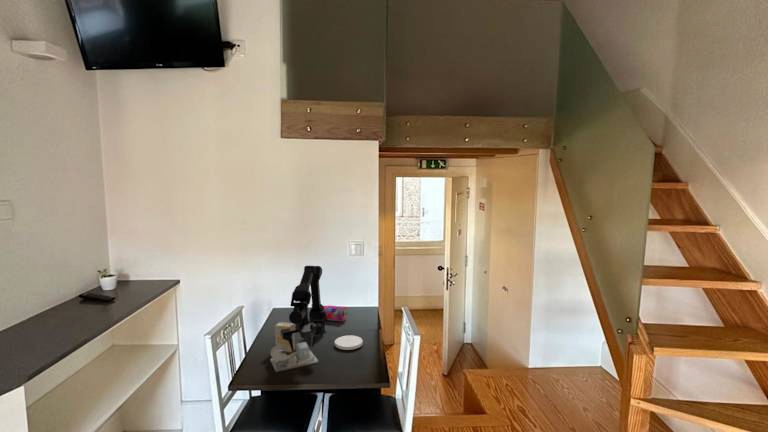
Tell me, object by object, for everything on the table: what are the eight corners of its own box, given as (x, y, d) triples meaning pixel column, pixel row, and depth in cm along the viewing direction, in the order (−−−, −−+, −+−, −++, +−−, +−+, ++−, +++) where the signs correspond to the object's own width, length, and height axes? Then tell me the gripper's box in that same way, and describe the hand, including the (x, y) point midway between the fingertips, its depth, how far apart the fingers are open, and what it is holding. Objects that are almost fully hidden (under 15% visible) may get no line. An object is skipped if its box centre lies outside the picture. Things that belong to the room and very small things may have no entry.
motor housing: (310, 352, 185) (310, 338, 184) (318, 362, 174) (317, 347, 173) (270, 360, 176) (269, 346, 175) (275, 372, 165) (275, 356, 165)
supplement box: (295, 349, 188) (294, 323, 187) (290, 353, 184) (289, 327, 182) (281, 346, 191) (280, 321, 190) (275, 350, 186) (274, 324, 185)
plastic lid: (363, 339, 200) (363, 335, 200) (362, 351, 186) (362, 346, 186) (336, 340, 200) (336, 335, 199) (333, 352, 186) (333, 347, 186)
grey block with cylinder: (305, 354, 180) (305, 341, 180) (310, 361, 173) (310, 348, 173) (296, 356, 178) (296, 343, 178) (300, 363, 171) (300, 350, 171)
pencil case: (308, 320, 227) (308, 306, 227) (315, 315, 236) (315, 301, 236) (343, 324, 222) (342, 309, 221) (348, 318, 231) (348, 304, 230)
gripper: (285, 325, 163) (286, 360, 165) (327, 318, 172) (327, 351, 173) (279, 317, 173) (280, 350, 175) (319, 310, 182) (319, 342, 183)
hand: (302, 348), depth 176 cm, fingers open, 9 cm apart
